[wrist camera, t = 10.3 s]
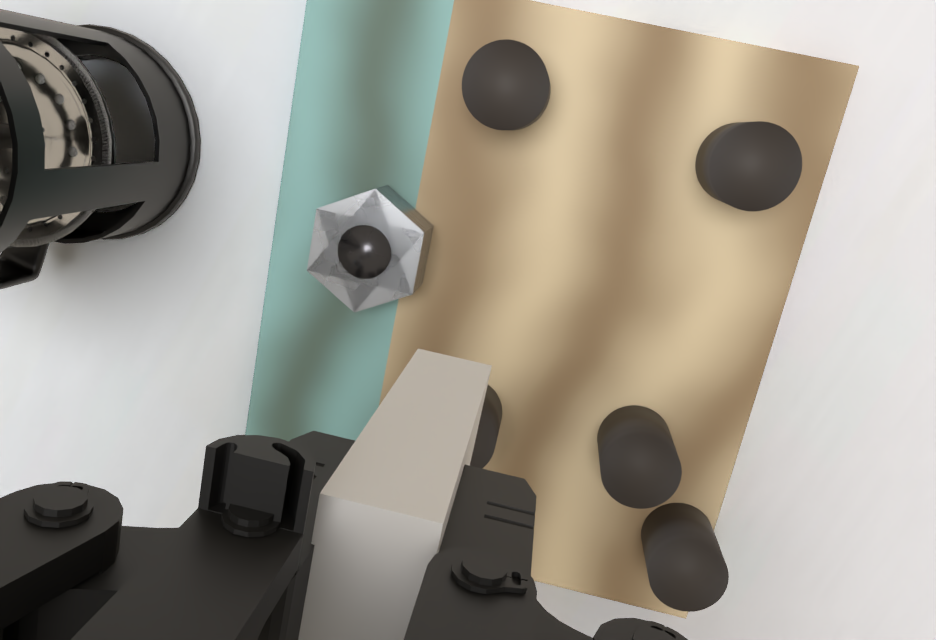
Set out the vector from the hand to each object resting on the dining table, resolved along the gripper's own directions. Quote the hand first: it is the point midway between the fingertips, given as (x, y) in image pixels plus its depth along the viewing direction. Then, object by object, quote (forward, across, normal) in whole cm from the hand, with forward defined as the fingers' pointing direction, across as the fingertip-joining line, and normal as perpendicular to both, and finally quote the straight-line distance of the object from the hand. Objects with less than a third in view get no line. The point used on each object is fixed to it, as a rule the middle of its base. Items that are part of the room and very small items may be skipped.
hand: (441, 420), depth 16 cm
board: (+20, +1, -2) cm, 20 cm away
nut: (+19, -6, 0) cm, 20 cm away
